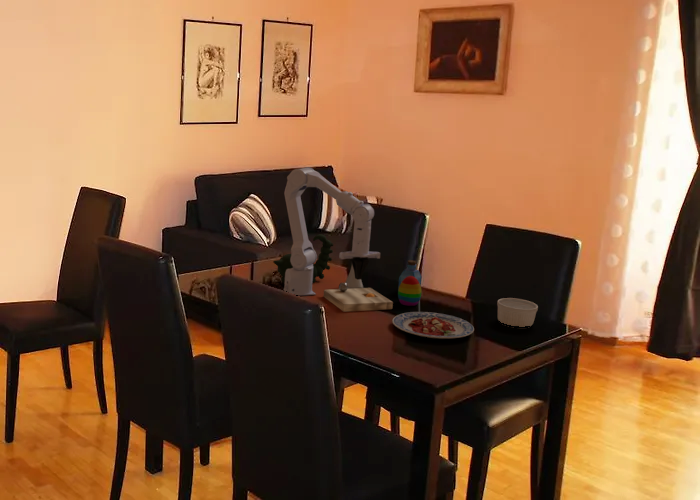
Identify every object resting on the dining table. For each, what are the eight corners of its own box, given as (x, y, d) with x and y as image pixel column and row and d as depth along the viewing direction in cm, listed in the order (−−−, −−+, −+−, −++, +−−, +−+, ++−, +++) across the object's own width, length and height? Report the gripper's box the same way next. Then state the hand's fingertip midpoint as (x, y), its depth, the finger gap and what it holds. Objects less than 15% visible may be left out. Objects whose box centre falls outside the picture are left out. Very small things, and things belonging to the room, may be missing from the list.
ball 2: (366, 299, 277) (372, 292, 278) (362, 296, 280) (368, 290, 281) (371, 305, 279) (378, 298, 279) (367, 302, 282) (374, 296, 282)
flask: (363, 290, 294) (365, 264, 292) (343, 289, 294) (345, 262, 292) (363, 285, 301) (365, 259, 299) (344, 284, 301) (346, 258, 299)
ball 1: (340, 292, 280) (341, 283, 279) (337, 290, 282) (337, 281, 282) (349, 292, 281) (349, 283, 280) (345, 290, 284) (346, 281, 283)
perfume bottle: (397, 293, 295) (400, 261, 292) (404, 289, 300) (407, 258, 298) (413, 296, 292) (416, 264, 290) (420, 292, 298) (423, 261, 295)
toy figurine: (318, 280, 311) (263, 280, 295) (325, 232, 308) (270, 230, 292) (332, 286, 303) (277, 287, 288) (339, 237, 300) (284, 235, 285)
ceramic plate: (379, 319, 262) (380, 310, 261) (449, 316, 271) (450, 308, 270) (412, 346, 238) (413, 336, 237) (488, 342, 247) (489, 333, 247)
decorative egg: (425, 305, 281) (427, 277, 279) (408, 308, 276) (410, 280, 274) (409, 299, 287) (411, 272, 285) (392, 302, 282) (394, 274, 280)
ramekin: (536, 321, 273) (539, 301, 272) (534, 332, 261) (537, 311, 259) (497, 315, 276) (499, 295, 275) (493, 325, 264) (495, 305, 262)
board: (343, 311, 266) (344, 304, 266) (323, 296, 282) (323, 289, 282) (392, 309, 274) (392, 301, 273) (369, 294, 290) (370, 287, 289)
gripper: (346, 242, 267) (343, 282, 270) (385, 242, 273) (381, 281, 276) (338, 238, 273) (335, 277, 276) (376, 237, 279) (372, 275, 282)
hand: (357, 278), depth 276 cm, fingers closed
